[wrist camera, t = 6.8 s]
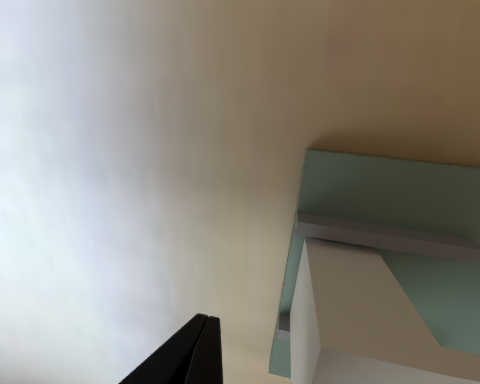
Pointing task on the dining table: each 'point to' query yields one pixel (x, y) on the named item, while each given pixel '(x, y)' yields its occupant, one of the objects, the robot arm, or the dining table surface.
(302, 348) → the block
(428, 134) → the dining table surface
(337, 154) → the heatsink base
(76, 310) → the dining table surface
